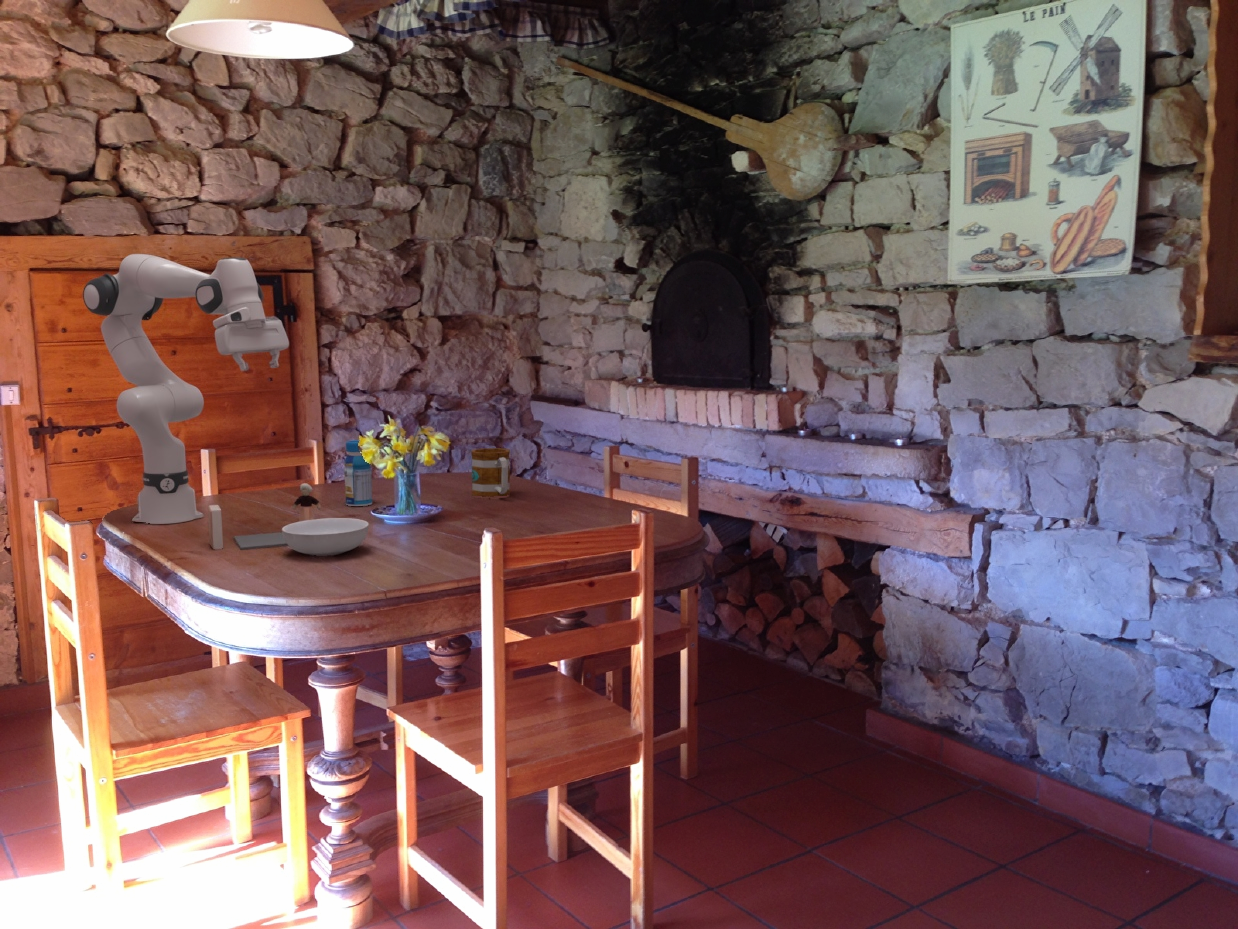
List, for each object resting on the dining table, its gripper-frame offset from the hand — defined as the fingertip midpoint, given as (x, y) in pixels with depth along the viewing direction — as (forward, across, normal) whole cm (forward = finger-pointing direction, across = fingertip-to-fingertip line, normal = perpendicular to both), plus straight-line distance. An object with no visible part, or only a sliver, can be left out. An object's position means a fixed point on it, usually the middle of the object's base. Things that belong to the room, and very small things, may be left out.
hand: (260, 368), depth 272 cm
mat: (+44, +6, -6) cm, 45 cm away
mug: (+50, -79, -1) cm, 93 cm away
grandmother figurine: (+44, -11, -11) cm, 47 cm away
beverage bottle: (+41, -44, -26) cm, 66 cm away
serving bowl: (+50, +6, +16) cm, 53 cm away
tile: (+42, +17, -12) cm, 47 cm away
